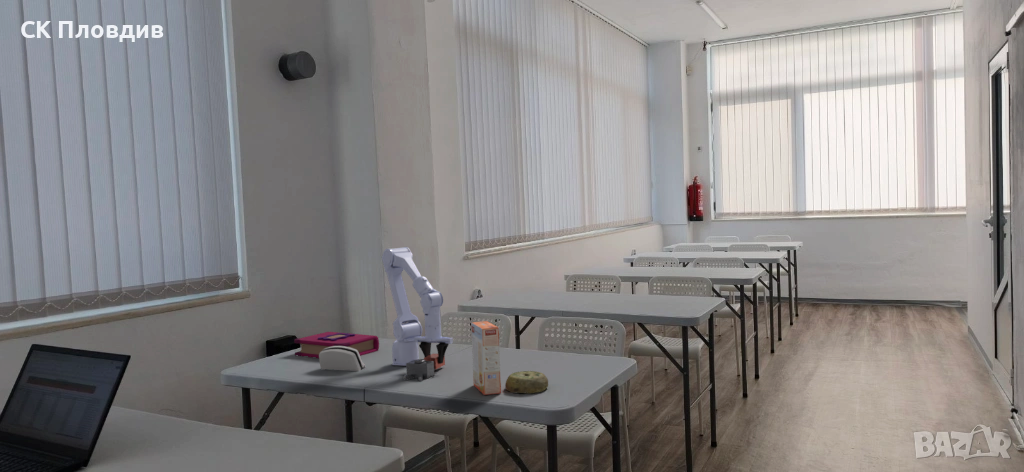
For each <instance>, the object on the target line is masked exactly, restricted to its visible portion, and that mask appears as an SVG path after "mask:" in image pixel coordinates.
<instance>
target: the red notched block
mask: <svg viewBox="0 0 1024 472" xmlns="http://www.w3.org/2000/svg"><path fill="white" fill-rule="evenodd" d="M430 354H431V355H429V356H426V357H424V356H423V359H425V360H426V361H434V369H437V368H439V367H441V368H442V367H444V366H446V360H445V359H446V358H445V357H446V356H445V355H446V354H445V355H444V360H443V363H441V364H439V361H438V353H430ZM439 369H440V368H439ZM437 370H438V369H437Z"/></svg>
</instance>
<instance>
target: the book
mask: <svg viewBox="0 0 1024 472" xmlns="http://www.w3.org/2000/svg"><path fill="white" fill-rule="evenodd" d="M293 340H294V341H293V342H294V344H297V345H298V344H299V345H300V346H301V347H300V349H301V350H299V351H296V352H294V356H295V355H298V356H297V357H304V356H308V357H307V358H313V357H316V358H315V359H319V354H320V352H321V351H322V350H323V349H325V348H328V347H332V346H345V347H350V348H353V349H356V350H358V352H359V354H360V357H362V356H365V355H368V354H372V353H375V352H378V351H379V347H380V339H379V337H378V336H377V335H371V334H359V333H349V332H347V333H346V332H338V331H337V332H336V331H335V332H334V331H325V332H321V333H316V334H313V335H308V336H304V337H298V338H294V339H293Z"/></svg>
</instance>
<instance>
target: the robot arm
mask: <svg viewBox="0 0 1024 472" xmlns="http://www.w3.org/2000/svg"><path fill="white" fill-rule="evenodd" d="M413 256H414V255H413V252H412V251H411V249H410V248H409V247H408V246H404V247H396V248H385V249H384V251H383V252H382V256H381V261H382V264H383V268H384V272H385V273H386V277H387V282H388V285H389V289H390V293H391V296H392V301H393V304H394V307H395V313H396V316H397V317H396V318H395V320H394V321H393V322H392V326H393V329H392V330H393V337H394V338H395V340H394V342H392V345H391V352H392V353H391V354H392V362H391V366H406V363H408V362H410V361H412V360H417V359H420V353H419V348H420V350H421V351H422V354H423V358H424V357H426V356H429V355H431V354H432V353H431V352H432V351H431V349H432V344H436V350H437V354H438V361H439V364H441V363H443V360H444V355H446V352H447V350H448V347H449V345H451V344H454V343H453V341H454V337H447V336H442V323H441V322H442V321H441V319H442V317H441V307H442V306H443V304H444V296H443V295H442V292H441V291H439V290H437V289H434V287H433V285H431V283H430V281H429V280H428V278H427V277H426V276H423V275H421V273H420V271H419V269H418V267H417V265H416V264H415V262H414V259H413V258H414V257H413ZM403 271H404V272H405V273H406V274H407V275H408V276H409V277H410V279H411V280H412V281H413V282H412V287H413V289H414V291H415V292H416V293H417V294H418V296H419V298H420V300H419V301H420V303H419V304H420V306H421V307H422V313H423V314H424V333H425V335H424V336H422V335H423V326H422V324H421V322H420V321H419V317H418V316H417V315H415V314H413V313H412V310H411V306H410V303H409V299H408V295H407V291H406V287H405V282H404V279H403V276H402V273H403ZM419 343H420V344H419Z"/></svg>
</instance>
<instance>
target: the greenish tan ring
mask: <svg viewBox="0 0 1024 472" xmlns="http://www.w3.org/2000/svg"><path fill="white" fill-rule="evenodd" d="M548 386H549V379H548V377H547V376H546V375H545V374H544V372H541V371H534V370H522V371H516V372H512V373H511V374H509V375H508V377H507V379H506V381H505V389H506V390H507V391H508V392H510V393H513V394H514V393H515V394H517V393H519V394H520V393H521V394H527V395H528V394H529V395H530V394H537V393H542V392H544V391H545V390H547V388H548Z"/></svg>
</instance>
